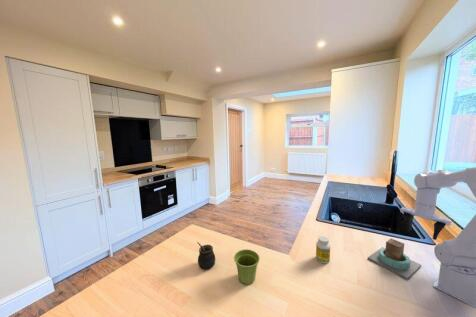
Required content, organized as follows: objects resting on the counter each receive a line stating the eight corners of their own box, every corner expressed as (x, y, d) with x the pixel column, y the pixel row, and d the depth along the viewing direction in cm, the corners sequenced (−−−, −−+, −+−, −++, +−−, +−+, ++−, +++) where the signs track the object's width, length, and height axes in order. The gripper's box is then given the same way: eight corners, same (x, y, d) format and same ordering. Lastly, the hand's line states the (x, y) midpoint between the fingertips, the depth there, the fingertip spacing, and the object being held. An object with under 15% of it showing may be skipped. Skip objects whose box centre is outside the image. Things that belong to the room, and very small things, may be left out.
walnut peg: (402, 261, 73) (404, 243, 72) (397, 266, 71) (399, 247, 70) (389, 255, 77) (390, 238, 76) (384, 259, 75) (386, 241, 74)
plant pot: (252, 266, 74) (252, 246, 72) (264, 284, 65) (264, 262, 64) (231, 273, 70) (230, 252, 69) (240, 292, 62) (239, 269, 60)
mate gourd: (212, 273, 70) (211, 250, 69) (194, 271, 72) (192, 248, 70) (218, 261, 77) (216, 239, 76) (201, 259, 79) (200, 238, 77)
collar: (421, 266, 71) (422, 258, 71) (407, 280, 65) (408, 271, 65) (382, 248, 83) (383, 242, 82) (367, 258, 76) (368, 251, 76)
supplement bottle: (324, 254, 80) (325, 234, 78) (332, 263, 74) (333, 241, 73) (313, 256, 79) (314, 235, 78) (320, 264, 74) (321, 243, 72)
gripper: (455, 207, 69) (450, 240, 71) (406, 196, 82) (403, 224, 84) (449, 211, 66) (445, 245, 68) (399, 199, 78) (396, 228, 80)
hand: (421, 234), depth 75 cm, fingers open, 7 cm apart
